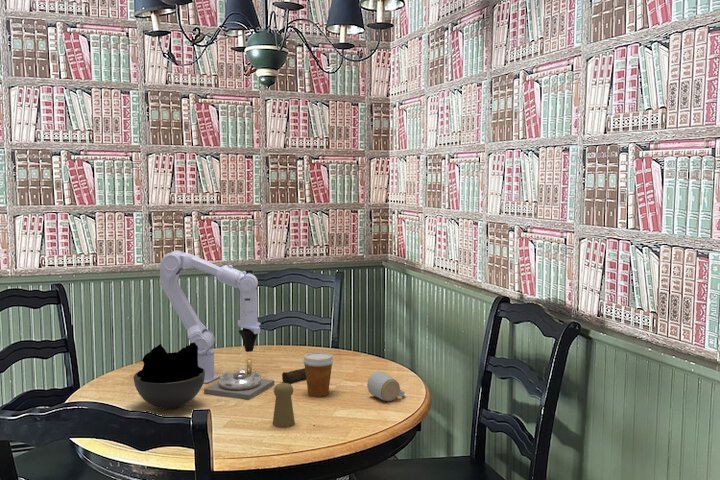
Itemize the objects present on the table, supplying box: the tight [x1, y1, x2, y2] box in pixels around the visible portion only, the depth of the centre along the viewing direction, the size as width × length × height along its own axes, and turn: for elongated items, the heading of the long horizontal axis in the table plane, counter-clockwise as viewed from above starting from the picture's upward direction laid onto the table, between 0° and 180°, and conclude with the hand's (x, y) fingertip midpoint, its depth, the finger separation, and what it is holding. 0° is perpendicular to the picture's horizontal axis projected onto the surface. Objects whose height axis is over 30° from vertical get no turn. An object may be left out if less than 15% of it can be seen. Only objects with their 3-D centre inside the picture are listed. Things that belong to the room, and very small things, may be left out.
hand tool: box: [281, 367, 306, 384], centre depth 224 cm, size 19×4×5 cm, turn 131°
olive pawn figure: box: [272, 382, 296, 429], centre depth 181 cm, size 6×6×11 cm
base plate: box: [203, 378, 275, 401], centre depth 212 cm, size 16×16×2 cm
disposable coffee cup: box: [302, 352, 334, 398], centre depth 207 cm, size 10×10×12 cm
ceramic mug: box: [366, 370, 405, 402], centre depth 204 cm, size 11×8×8 cm
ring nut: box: [218, 358, 262, 390], centre depth 211 cm, size 13×13×6 cm
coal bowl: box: [133, 343, 205, 410], centre depth 194 cm, size 20×20×19 cm
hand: (249, 351), depth 222 cm, fingers closed
